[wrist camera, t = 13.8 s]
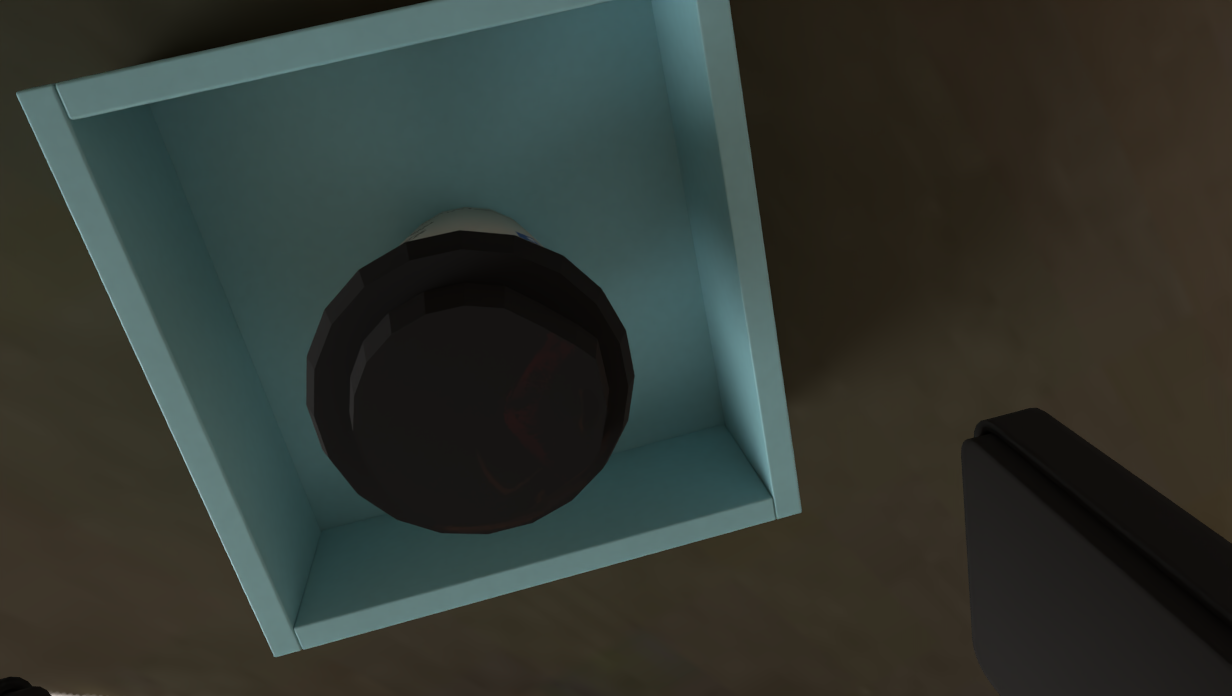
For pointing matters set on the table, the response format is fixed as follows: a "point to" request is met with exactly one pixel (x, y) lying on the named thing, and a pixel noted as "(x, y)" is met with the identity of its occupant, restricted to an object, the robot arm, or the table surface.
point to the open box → (381, 220)
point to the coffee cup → (469, 377)
